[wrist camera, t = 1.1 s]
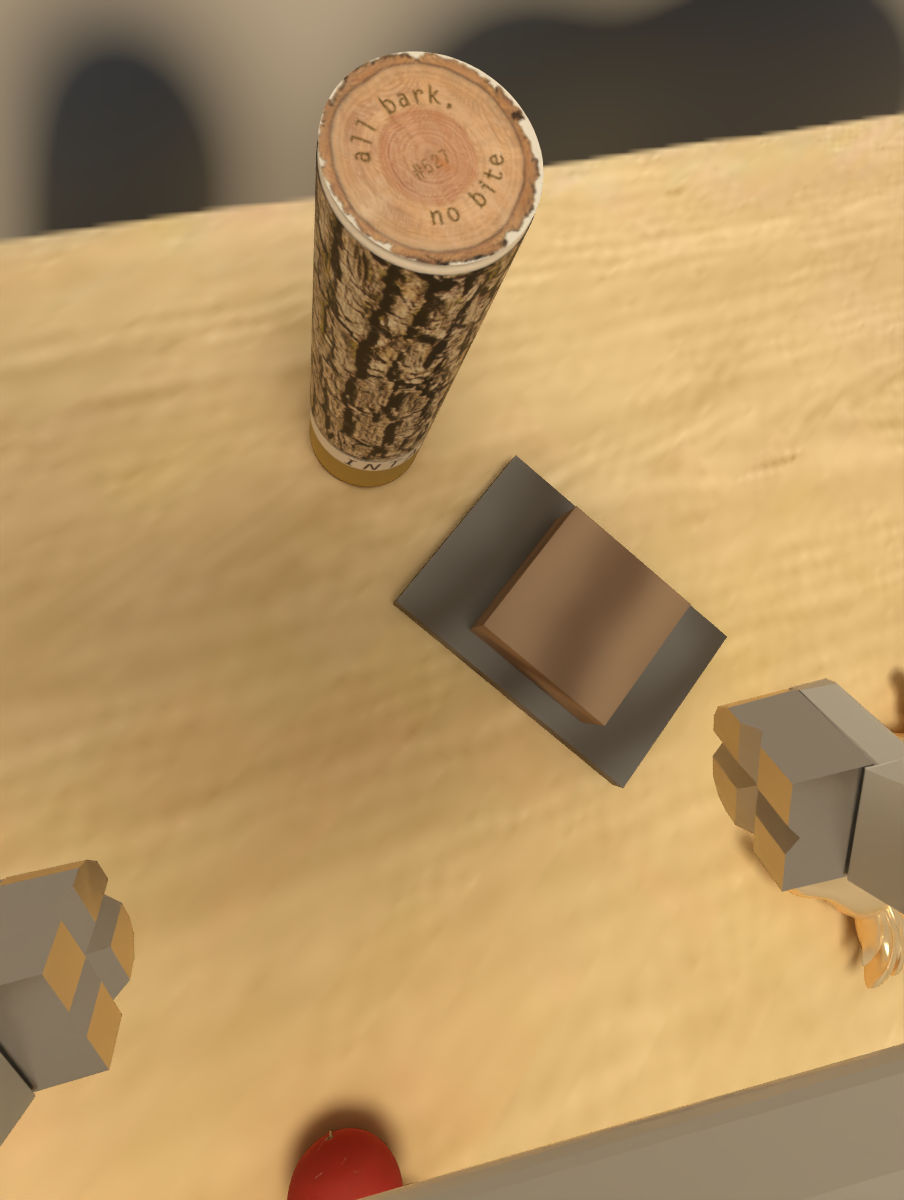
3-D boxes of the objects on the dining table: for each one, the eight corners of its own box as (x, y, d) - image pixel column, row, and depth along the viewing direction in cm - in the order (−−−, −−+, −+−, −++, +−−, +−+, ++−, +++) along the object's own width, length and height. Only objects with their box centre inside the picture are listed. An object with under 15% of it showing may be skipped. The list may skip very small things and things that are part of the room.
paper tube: (287, 420, 45) (268, 109, 21) (377, 365, 47) (458, 16, 22) (351, 510, 45) (408, 307, 21) (439, 453, 47) (586, 201, 23)
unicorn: (733, 978, 47) (966, 974, 50) (770, 1003, 43) (1021, 997, 46) (730, 663, 50) (951, 677, 53) (764, 660, 46) (1001, 674, 49)
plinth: (393, 603, 45) (404, 593, 40) (509, 462, 48) (533, 437, 43) (613, 784, 47) (649, 796, 42) (714, 638, 49) (759, 632, 44)
